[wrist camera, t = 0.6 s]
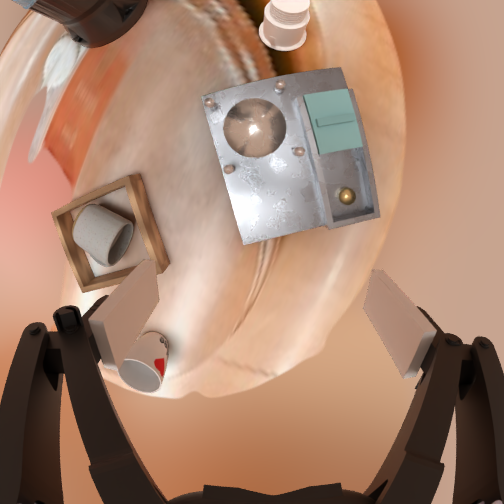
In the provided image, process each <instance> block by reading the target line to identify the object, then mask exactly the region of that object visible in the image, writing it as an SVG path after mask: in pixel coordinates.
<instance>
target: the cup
mask: <svg viewBox="0 0 504 504" xmlns="http://www.w3.org/2000/svg"><path fill="white" fill-rule="evenodd" d="M167 360H168V342H167V340H166V339H165V337H164V336H162V335H161V334H159V333H157V332H148V333H146V334H145V335H143V336H142V337H140V338H139V339H138V340H137V341H136V342H135V343H134V344H133V346H132V347H131V349H130V351H129V353H128V354H127V356H126V358H125V360H124V362H123V363H122V365H121V367H120V369H119V371H117V372H118V375H119V376H120V378H121V379H122V380H123V381H124V382H125V383H126V384H127V385H128V386H130V387H131V388H133V389H135V390H137V391H140V392H144V393H154V392H156V391H158V390H159V389H160V387H161V384H162V381H163V378H164V374H165V371H166V366H167Z"/></svg>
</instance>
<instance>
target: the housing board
mask: <svg viewBox="0 0 504 504" xmlns="http://www.w3.org/2000/svg"><path fill="white" fill-rule="evenodd" d="M340 89H348V87H347V84H346V81H345V78H344V75H343V72H342V69H341V67H339V68H329V69H321V70H313V71H306V72H300V73H294V74H288V75H283V76H278V77H273V78H268V79H263V80H259V81H255V82H251V83H246V84H243V85H239V86H235V87H231V88H228V89H224V90H221V91H217V92H214V93H211V94H208V95H204V96H201V99H202V102H203V106H204V109H205V113H206V116H207V120H208V123H209V127H210V130H211V134H212V137H213V141H214V145H215V148H216V152H217V155H218V158H219V162H220V165H221V169H222V172H223V176H224V179H225V183H226V186H227V190H228V193H229V197H230V200H231V204H232V207H233V211H234V214H235V217H236V221H237V224H238V228H239V231H240V235H241V238H242V241H243V245H247V244H251V243H255V242H259V241H263V240H267V239H271V238H275V237H279V236H283V235H287V234H291V233H295V232H299V231H303V230H308V229H312V228H316V227H320V226H324V225H325V226H326V227H327V228H328V229H329V230H330V229H334V228H338V227H342V226H346V225H350V224H354V223H358V222H362V221H367V220H371V219H375V218H379V217H380V211H379V204H378V197H377V191H376V185H375V179H374V174H373V169H372V163H371V159H370V154H369V149H368V145H367V140H366V136H365V132H364V128H363V124H362V120H361V116H360V113H359V109H358V106H357V102H356V99H355V95H354V92H353V89H348V92H349V95H350V98H351V102H352V105H353V109H354V112H355V116H356V120H357V124H358V127H359V131H360V136H361V140H362V144H363V147H357V148H351V149H346V150H340V151H335V152H330V153H325V154H318V150H317V146H316V142H315V138H314V135H313V131H312V127H311V124H310V120H309V116H308V113H307V110H306V106H305V103H304V99H303V95H306V94H312V93H319V92H325V91H333V90H340Z"/></svg>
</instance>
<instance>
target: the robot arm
mask: <svg viewBox="0 0 504 504" xmlns="http://www.w3.org/2000/svg"><path fill="white" fill-rule="evenodd" d="M13 1H14V2H16V3H17V4H19V5H21V6H23V7H24V8H25V9H30V10H32V11H35V12H37V13H39V14H42V15H44V16H46V17H48V18H51V19H53V20H55V21H57V22H59V23H61V24H63V26H64V27H65V29H66V31H67V32H68V34H69V35H70V37H71V38H72V40H73V41H75V42H76V43H78V44H80V45H82V46H84V47H89V48H94V47H99V46H103V45H105V44H108V43H110V42H112V41H114V40H115V39H117V38H119V37H120V36H121V35H123V34H124V33H125V32H127V31H128V30H129V29H130V28H131V27H132V26H133V25H134V24H135V23H136V21H137V20H138V19H139V18H140V16H141V15H142V13H143V11H144V9H145V7H146V4H147V0H13ZM158 302H159V292H158V284H157V275H156V266H155V260H143V261H142V262H141V263H140V264H139V265H138V266H137V267H136V268H135V269H134V270H133V271H132V272H131V273H130V274H129V275H128V276H127V277H126V278H125V279H124V280H123V281H122V283H121V284H120V285H119V286H118V287H117V288H116V289H115V290H114V291H113V292H112V293H111V294H110V295H105V296H103V297H101V298H100V299H98V300H97V301H96V302H95V303H94V304H93V306H92V307H91V308H90V309H89V310H88V311H87V312H86V313H85V314H84V315H83V316H82V317H81V314H80V310H79V308H78V307H76V306H71V305H69V306H64V307H61V308H59V309H58V310H56V311H55V312H54V314H53V319H54V321H55V324H56V327H57V330H58V331H57V332H48V331H47V328H46V326H45V324H44V323H41V322H36V323H32V324H30V325H28V326H27V327H26V328H25V329H24V331H23V333H22V336H21V338H20V341H19V344H18V347H17V349H16V352H15V355H14V358H13V361H12V364H11V367H10V370H9V374H8V377H7V380H6V384H5V388H4V391H3V395H2V399H1V404H0V504H64V501H63V491H62V481H61V468H60V443H59V442H60V441H59V439H60V438H59V437H60V407H61V392H62V383H63V374H65V377H66V382H67V386H68V391H69V395H70V400H71V403H72V407H73V411H74V415H75V418H76V422H77V425H78V428H79V431H80V434H81V437H82V440H83V443H84V446H85V449H86V452H87V454H88V457H89V460H90V463H91V465H90V466H89V471H90V474H91V477H92V479H93V481H94V483H95V486H96V488H97V490H98V492H99V494H100V497H101V499H102V501H103V503H104V504H431V502H432V500H433V497H434V495H435V493H436V490H437V488H438V485H439V482H440V480H441V477H442V474H443V471H444V463H440V460H441V456H442V453H443V450H444V447H445V443H446V440H447V436H448V433H449V429H450V425H451V421H452V416H453V412H454V407H455V411H456V438H457V440H456V443H457V444H456V472H455V484H454V493H453V503H452V504H504V373H503V370H502V367H501V364H500V361H499V359H498V356H497V353H496V351H495V348H494V345H493V344H492V342H491V341H490V340H489V339H487V338H486V337H476V338H475V339H474V341H473V343H472V345H468V344H463V342H462V340H461V339H460V338H459V337H457V336H456V335H454V334H450V333H444V332H443V331H442V330H441V329H440V327H439V326H438V325H437V324H436V323H435V322H433V319H432V318H431V317H430V316H429V315H428V314H427V313H426V311H425V310H423V309H421V308H420V307H418V306H415V305H414V303H413V302H412V301H411V300H410V299H409V298H408V297H407V295H406V294H405V293H404V292H403V291H402V290H401V289H400V288H399V287H398V286H397V284H396V283H395V282H393V280H392V279H391V278H390V277H389V276H388V275H387V274H386V273H385V272H384V271H383V270H372V273H371V277H370V282H369V286H368V291H367V295H366V299H365V303H364V307H363V309H364V310H365V312H366V314H367V315H368V317H369V319H370V321H371V322H372V324H373V326H374V327H375V329H376V331H377V332H378V334H379V336H380V337H381V339H382V341H383V343H384V345H385V347H386V348H387V350H388V352H389V354H390V355H391V357H392V359H393V361H394V363H395V365H396V366H397V368H398V370H399V372H400V374H401V376H402V378H403V379H404V378H410V377H415V376H416V375H417V373H418V371H419V369H420V367H421V369H422V370H423V372H424V373H423V374H422V376H421V378H420V380H419V382H418V384H417V386H416V387H415V389H417V390H416V392H415V395H414V398H413V400H412V403H411V406H410V408H409V410H408V413H407V415H406V418H405V420H404V422H403V424H402V427H401V429H400V431H399V433H398V435H397V438H396V440H395V442H394V444H393V446H392V448H391V450H390V452H389V453H388V455H387V457H386V459H385V461H384V463H383V465H382V466H381V468H380V470H379V472H378V473H377V475H376V477H375V478H374V480H373V482H372V483H371V485H370V486H369V487H368V489H367V490H366V491H365V492H364V493H363V494H361V493H359V492H355V491H350V490H343V489H342V488H341V483H335V484H328V485H319V486H310V487H306V488H303V489H299V490H296V491H292V492H288V493H284V494H280V495H266V494H262V493H258V492H253V491H249V490H245V489H241V488H233V487H221V486H211V485H204V489H203V491H199V492H193V493H188V494H184V495H181V496H178V497H176V498H173V499H172V500H169V501H167V499H166V498H165V496H164V495H163V494H162V492H161V491H160V489H159V488H158V486H157V485H156V484H155V482H154V480H153V479H152V477H151V476H150V474H149V472H148V471H147V469H146V468H145V466H144V464H143V462H142V461H141V459H140V457H139V456H138V454H137V452H136V450H135V448H134V446H133V444H132V443H131V441H130V439H129V437H128V435H127V433H126V431H125V429H124V427H123V425H122V422H121V420H120V418H119V416H118V414H117V412H116V410H115V407H114V405H113V402H112V400H111V398H110V395H109V393H108V390H107V388H106V385H105V383H104V380H103V377H102V375H101V372H100V369H99V367H98V362H99V361H100V359H101V360H102V362H103V365H104V368H108V369H112V370H117V371H119V369H120V367H121V365H122V363H123V362H124V360H125V358H126V356H127V354H128V353H129V351H130V349H131V347H132V346H133V344H134V342H135V341H136V339H137V337H138V335H139V334H140V332H141V330H142V329H143V327H144V325H145V324H146V322H147V320H148V319H149V317H150V315H151V314H152V312H153V310H154V309H155V307H156V305H157V304H158Z"/></svg>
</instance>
